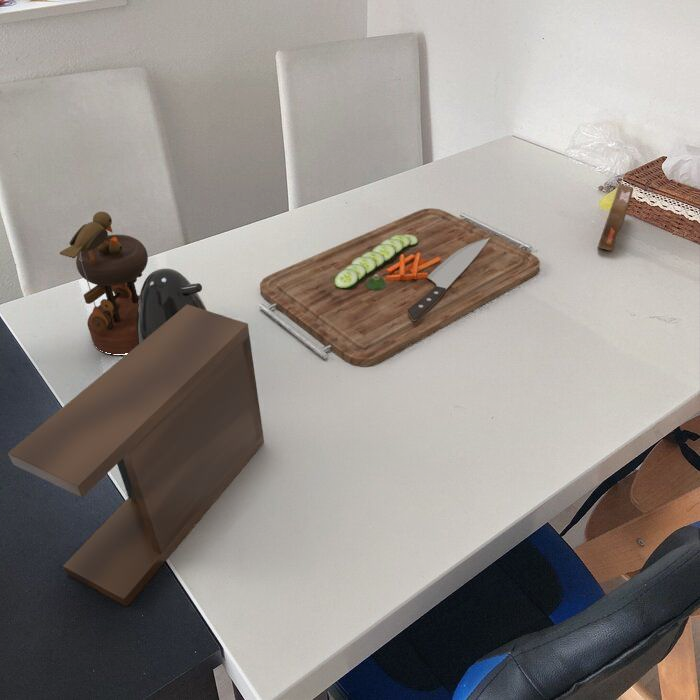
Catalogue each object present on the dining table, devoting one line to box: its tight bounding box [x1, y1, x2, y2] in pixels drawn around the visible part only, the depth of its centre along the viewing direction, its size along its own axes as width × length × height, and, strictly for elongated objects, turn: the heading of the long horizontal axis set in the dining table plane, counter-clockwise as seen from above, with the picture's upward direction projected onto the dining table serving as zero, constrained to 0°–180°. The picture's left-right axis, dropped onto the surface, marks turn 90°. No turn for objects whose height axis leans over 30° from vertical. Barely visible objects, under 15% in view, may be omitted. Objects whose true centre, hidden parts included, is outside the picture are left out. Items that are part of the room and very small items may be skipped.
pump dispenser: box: [136, 267, 208, 345], centre depth 89 cm, size 10×10×15 cm
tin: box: [597, 182, 634, 251], centre depth 116 cm, size 15×3×8 cm, turn 155°
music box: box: [59, 211, 149, 354], centre depth 94 cm, size 15×11×20 cm
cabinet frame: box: [7, 305, 265, 608], centre depth 70 cm, size 8×24×18 cm, turn 153°
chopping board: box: [258, 207, 541, 368], centre depth 109 cm, size 45×27×3 cm, turn 130°
